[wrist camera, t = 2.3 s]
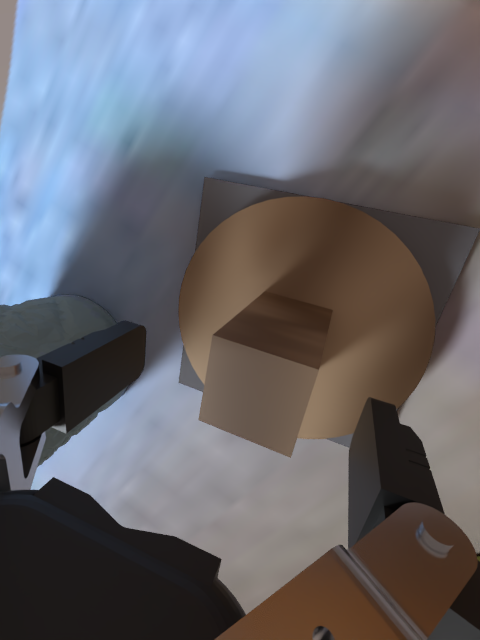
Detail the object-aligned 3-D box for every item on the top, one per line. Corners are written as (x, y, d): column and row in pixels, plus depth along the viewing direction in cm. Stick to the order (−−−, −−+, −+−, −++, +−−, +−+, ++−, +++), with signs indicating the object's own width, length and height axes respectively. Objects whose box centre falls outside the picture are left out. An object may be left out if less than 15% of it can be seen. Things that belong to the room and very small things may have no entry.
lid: (480, 228, 12) (622, 243, 6) (375, 457, 17) (387, 610, 10) (204, 176, 15) (93, 147, 9) (178, 382, 20) (92, 464, 13)
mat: (475, 228, 13) (479, 228, 12) (374, 449, 17) (375, 457, 17) (209, 178, 16) (204, 177, 15) (183, 378, 20) (178, 382, 20)
